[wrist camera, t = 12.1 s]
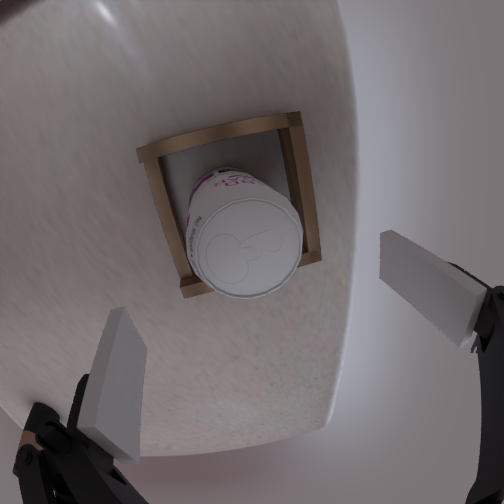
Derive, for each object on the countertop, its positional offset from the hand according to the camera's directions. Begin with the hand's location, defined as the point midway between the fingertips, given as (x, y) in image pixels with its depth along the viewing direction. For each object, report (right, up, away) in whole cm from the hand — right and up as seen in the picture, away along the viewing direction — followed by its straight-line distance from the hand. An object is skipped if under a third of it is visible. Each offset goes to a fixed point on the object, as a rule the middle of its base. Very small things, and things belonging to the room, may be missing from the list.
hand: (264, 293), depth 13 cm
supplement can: (-4, +8, +18) cm, 20 cm away
